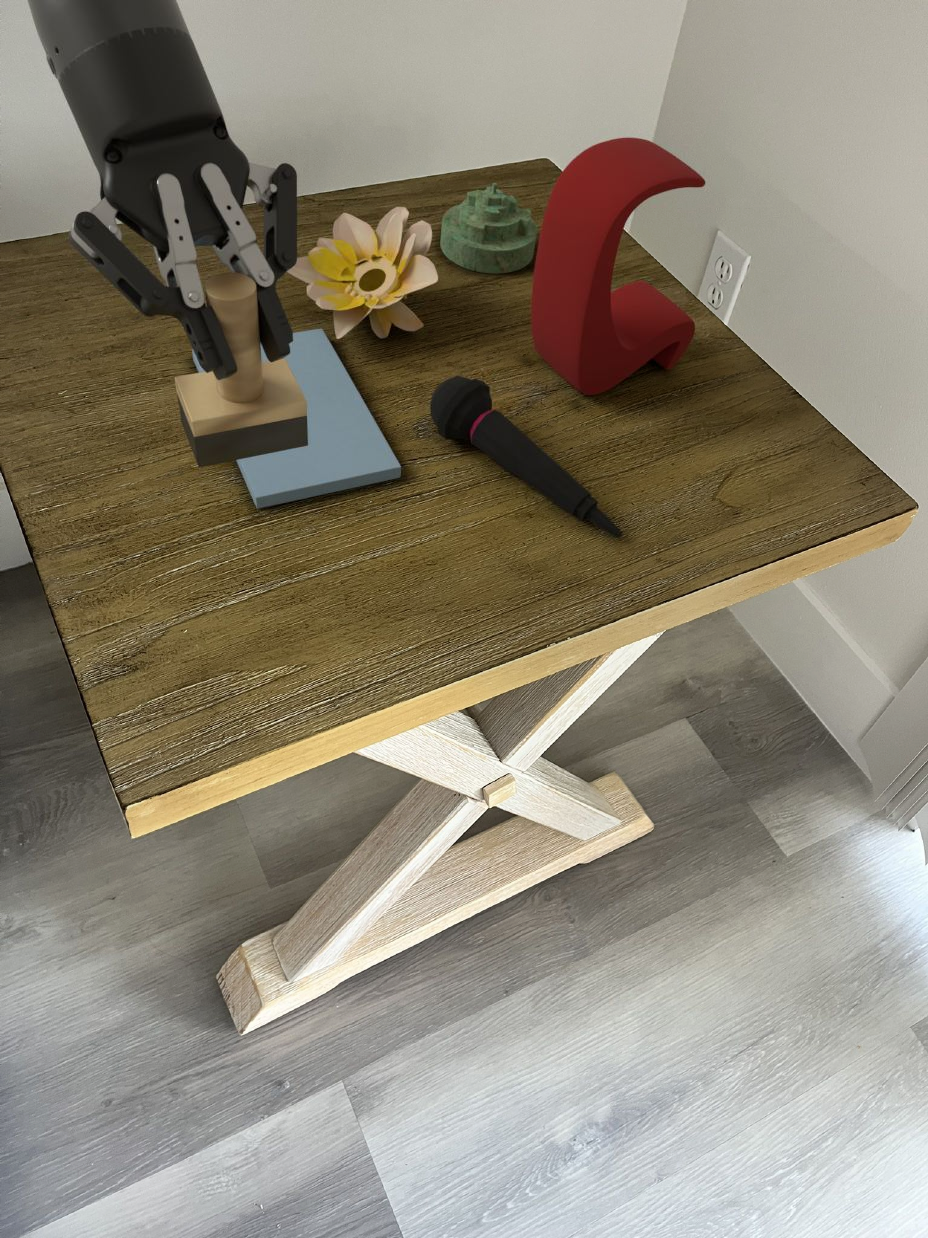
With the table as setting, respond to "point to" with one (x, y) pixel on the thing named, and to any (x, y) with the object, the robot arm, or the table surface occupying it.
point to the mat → (321, 433)
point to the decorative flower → (369, 272)
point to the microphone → (509, 447)
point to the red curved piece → (604, 269)
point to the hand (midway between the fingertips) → (254, 365)
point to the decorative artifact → (488, 233)
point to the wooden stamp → (241, 387)
